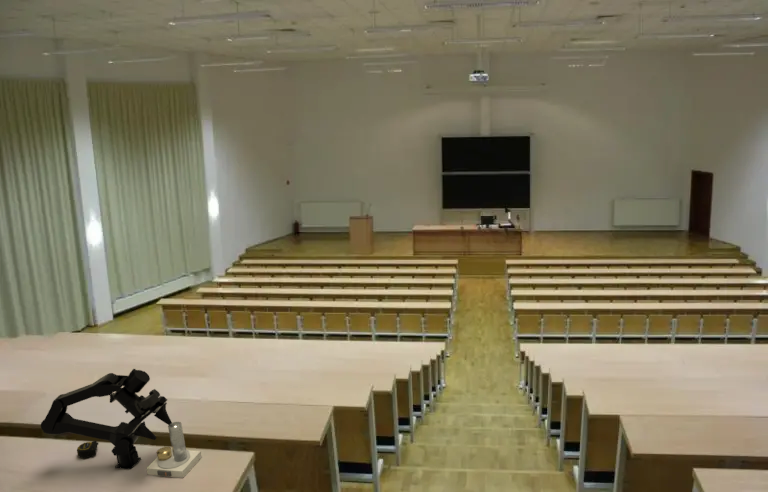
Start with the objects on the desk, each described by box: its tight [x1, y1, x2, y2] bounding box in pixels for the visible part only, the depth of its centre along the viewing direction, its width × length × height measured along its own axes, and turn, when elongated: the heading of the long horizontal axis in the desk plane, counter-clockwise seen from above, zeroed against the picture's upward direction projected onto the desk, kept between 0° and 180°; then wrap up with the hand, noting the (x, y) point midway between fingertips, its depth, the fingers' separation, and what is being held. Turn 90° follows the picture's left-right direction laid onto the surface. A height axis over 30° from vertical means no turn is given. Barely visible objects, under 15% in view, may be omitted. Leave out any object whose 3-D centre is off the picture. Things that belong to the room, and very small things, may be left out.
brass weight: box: [156, 446, 172, 461], centre depth 210 cm, size 5×5×2 cm
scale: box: [146, 448, 202, 479], centre depth 210 cm, size 14×13×3 cm
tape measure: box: [76, 440, 99, 459], centre depth 222 cm, size 7×7×4 cm
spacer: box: [167, 421, 187, 462], centre depth 207 cm, size 4×4×13 cm
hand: (163, 431), depth 207 cm, fingers open, 9 cm apart
